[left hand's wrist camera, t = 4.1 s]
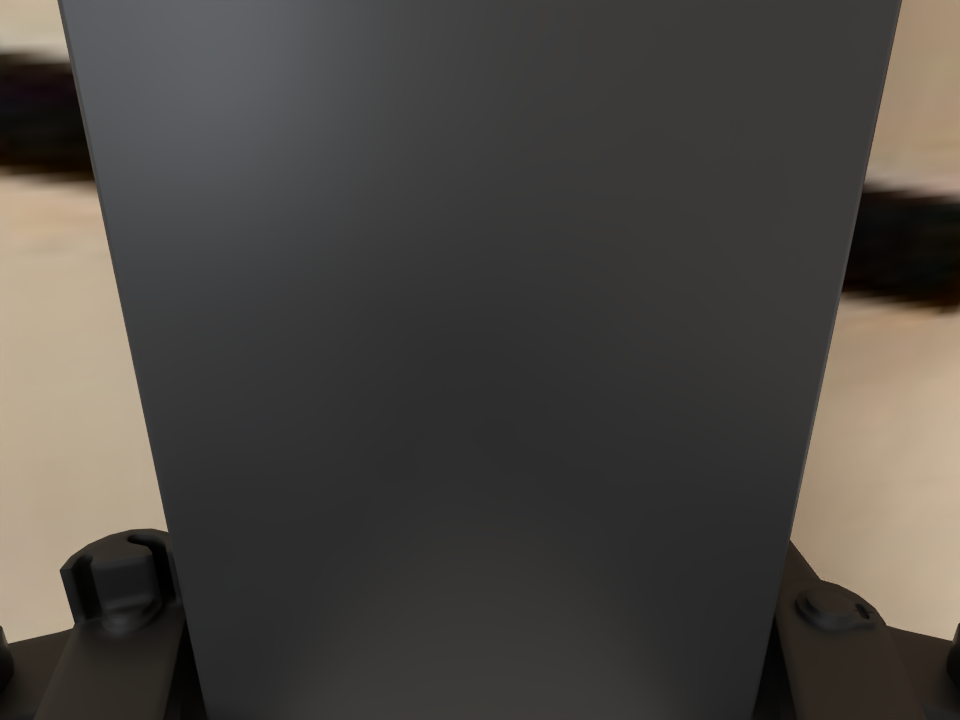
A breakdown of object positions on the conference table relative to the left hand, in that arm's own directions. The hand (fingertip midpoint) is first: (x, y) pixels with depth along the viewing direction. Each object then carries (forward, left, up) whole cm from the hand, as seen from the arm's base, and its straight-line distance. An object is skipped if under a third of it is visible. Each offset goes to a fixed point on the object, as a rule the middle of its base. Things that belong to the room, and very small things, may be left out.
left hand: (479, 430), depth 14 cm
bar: (+9, +9, -1) cm, 13 cm away
